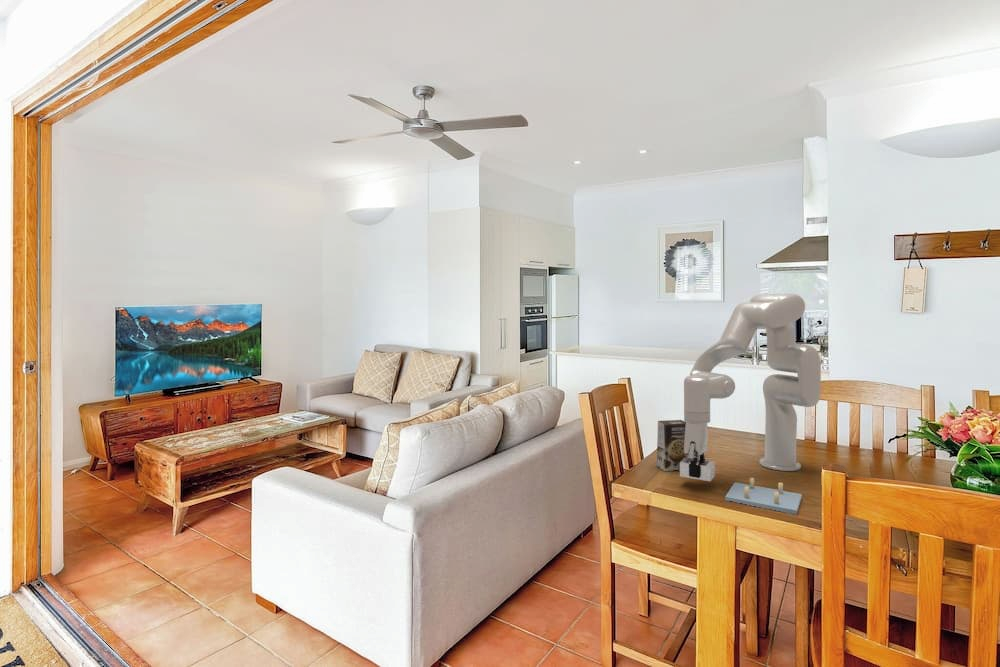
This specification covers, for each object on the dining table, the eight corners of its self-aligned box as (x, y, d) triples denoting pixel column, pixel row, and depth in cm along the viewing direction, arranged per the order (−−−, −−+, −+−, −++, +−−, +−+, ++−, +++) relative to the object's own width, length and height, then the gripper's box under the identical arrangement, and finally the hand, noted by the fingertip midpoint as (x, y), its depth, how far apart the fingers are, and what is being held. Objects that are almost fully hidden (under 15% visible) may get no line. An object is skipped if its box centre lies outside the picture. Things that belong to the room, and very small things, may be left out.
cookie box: (665, 472, 176) (665, 424, 175) (656, 465, 182) (656, 420, 181) (690, 470, 177) (690, 423, 176) (680, 464, 184) (681, 418, 182)
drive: (685, 470, 167) (685, 456, 166) (714, 475, 162) (714, 461, 161) (680, 476, 162) (679, 461, 162) (710, 481, 157) (710, 466, 157)
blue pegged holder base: (734, 486, 162) (735, 472, 162) (801, 498, 152) (802, 483, 151) (725, 500, 150) (725, 486, 150) (796, 514, 140) (797, 499, 140)
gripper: (691, 409, 170) (692, 463, 171) (676, 421, 156) (676, 480, 157) (716, 411, 165) (716, 467, 167) (702, 424, 151) (703, 485, 153)
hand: (697, 473), depth 162 cm, fingers closed on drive, 5 cm apart
